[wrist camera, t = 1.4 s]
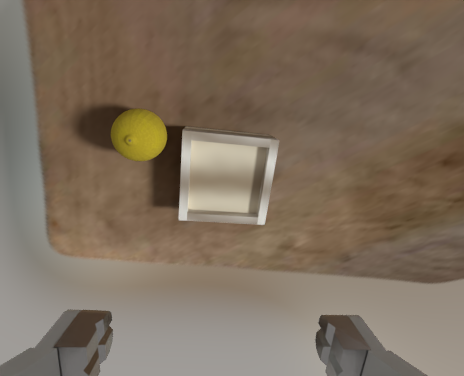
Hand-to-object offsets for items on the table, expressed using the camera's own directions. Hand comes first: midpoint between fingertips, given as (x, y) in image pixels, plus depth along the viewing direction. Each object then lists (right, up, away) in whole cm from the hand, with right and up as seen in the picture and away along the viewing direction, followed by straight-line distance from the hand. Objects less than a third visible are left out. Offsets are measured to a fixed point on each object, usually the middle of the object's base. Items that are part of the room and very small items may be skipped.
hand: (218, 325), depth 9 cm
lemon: (-10, +13, +21) cm, 26 cm away
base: (0, +8, +23) cm, 25 cm away
